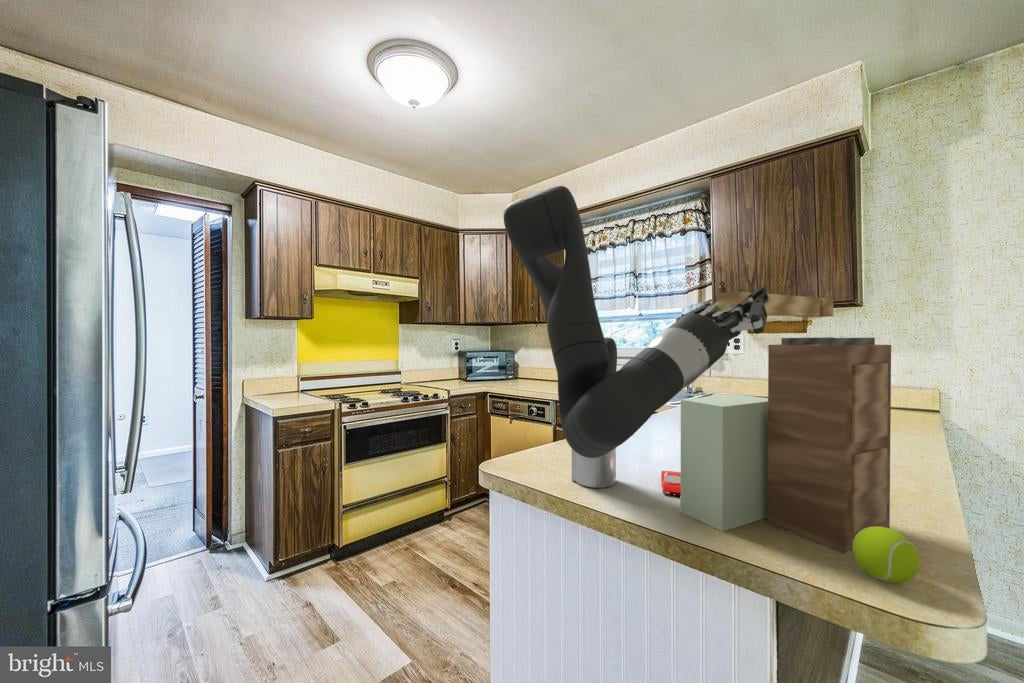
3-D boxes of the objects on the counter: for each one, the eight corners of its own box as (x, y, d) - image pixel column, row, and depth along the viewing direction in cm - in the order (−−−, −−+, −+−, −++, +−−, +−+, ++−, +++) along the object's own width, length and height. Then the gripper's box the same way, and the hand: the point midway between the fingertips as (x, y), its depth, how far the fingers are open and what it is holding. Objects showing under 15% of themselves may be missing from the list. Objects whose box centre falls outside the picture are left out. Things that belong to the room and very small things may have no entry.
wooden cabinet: (846, 554, 66) (848, 338, 65) (767, 523, 77) (768, 337, 76) (892, 535, 72) (894, 337, 71) (813, 508, 83) (814, 337, 82)
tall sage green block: (722, 531, 74) (722, 406, 73) (680, 512, 82) (680, 399, 81) (779, 513, 81) (780, 399, 80) (736, 497, 89) (736, 394, 88)
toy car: (688, 500, 88) (688, 485, 88) (661, 497, 90) (661, 482, 90) (684, 481, 100) (684, 468, 100) (661, 479, 101) (661, 465, 101)
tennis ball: (933, 590, 56) (934, 537, 56) (891, 597, 55) (892, 543, 55) (878, 563, 63) (878, 516, 63) (839, 568, 62) (840, 520, 62)
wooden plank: (739, 312, 60) (739, 291, 60) (714, 313, 64) (714, 293, 64) (833, 316, 71) (833, 298, 71) (807, 317, 75) (807, 300, 75)
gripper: (718, 327, 51) (793, 264, 57) (634, 329, 63) (704, 277, 70) (738, 381, 53) (809, 313, 59) (653, 372, 65) (719, 317, 72)
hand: (752, 294), depth 65 cm, fingers closed on wooden plank, 3 cm apart
